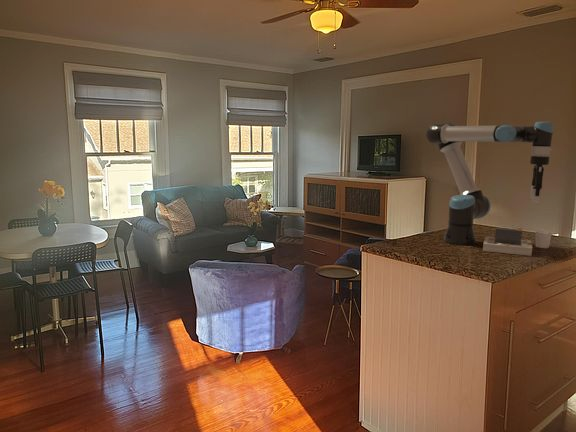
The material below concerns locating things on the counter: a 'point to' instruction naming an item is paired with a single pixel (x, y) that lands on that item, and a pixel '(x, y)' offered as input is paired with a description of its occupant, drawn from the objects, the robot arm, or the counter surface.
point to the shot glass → (542, 239)
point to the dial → (508, 236)
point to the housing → (508, 247)
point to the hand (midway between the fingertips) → (534, 201)
